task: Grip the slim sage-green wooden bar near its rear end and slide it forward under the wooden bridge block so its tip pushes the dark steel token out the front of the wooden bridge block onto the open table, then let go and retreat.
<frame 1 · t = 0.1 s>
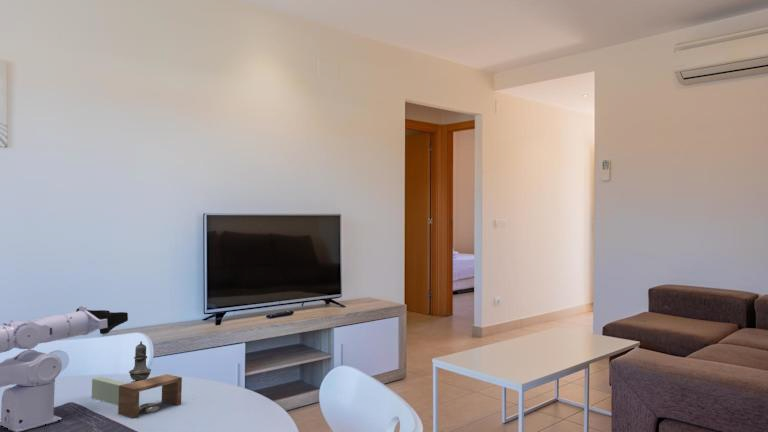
hand: (117, 315, 137), 22 cm above the table, tool horizontal, fingers open, 7 cm apart
wooden bridge block: (150, 408, 130), on the table
token: (149, 411, 129), on the table
salt shaker: (139, 384, 153), on the table
bar: (114, 402, 136), on the table
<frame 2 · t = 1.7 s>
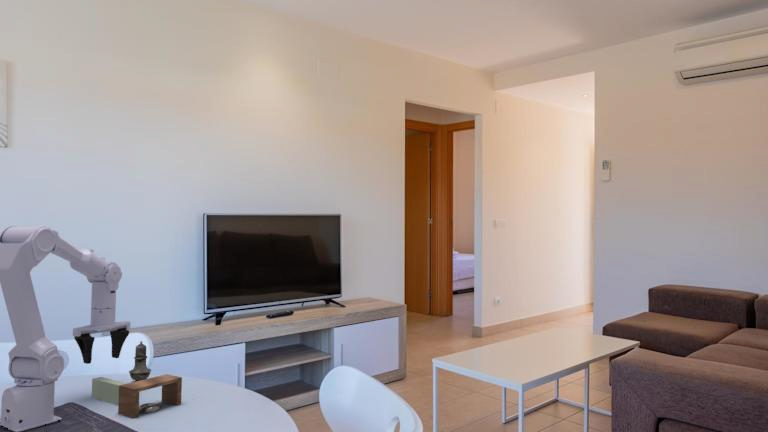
hand: (101, 360, 140), 10 cm above the table, tool pointing down, fingers open, 7 cm apart
nothing on the table moved.
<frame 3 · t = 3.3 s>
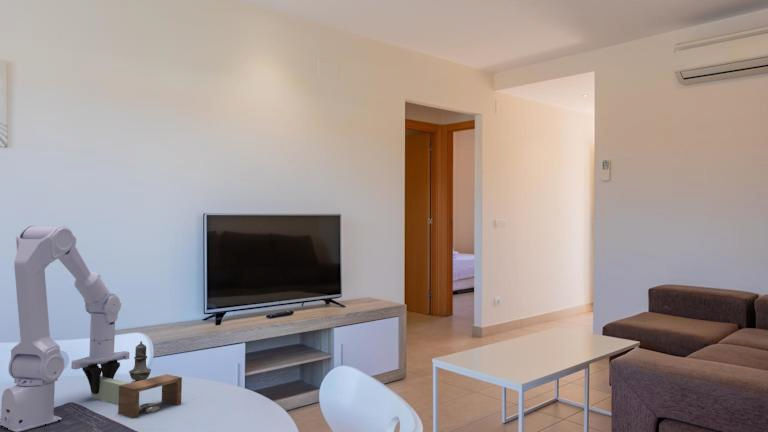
hand: (100, 391, 139), 1 cm above the table, tool pointing down, fingers closed on bar, 2 cm apart
bar: (114, 401, 136), on the table, touching gripper
everything else where it was.
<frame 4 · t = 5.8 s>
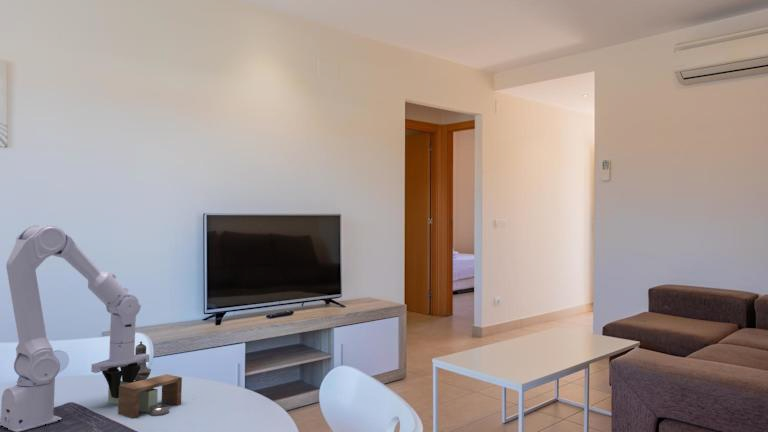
hand: (120, 395, 135), 2 cm above the table, tool pointing down, fingers closed on bar, 2 cm apart
token: (158, 413, 127), on the table, touching bar
bar: (132, 406, 132), on the table, touching gripper, token
everything else where it was.
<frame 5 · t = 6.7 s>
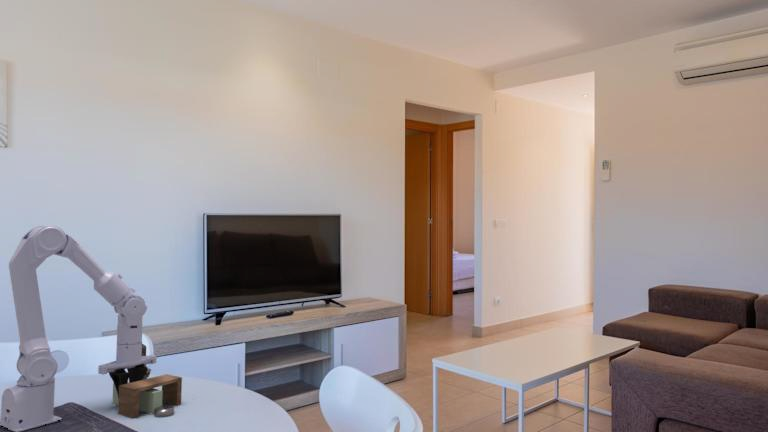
hand: (127, 397, 133), 2 cm above the table, tool pointing down, fingers closed on bar, 2 cm apart
token: (164, 415, 126), on the table
bar: (136, 407, 131), on the table, touching gripper
everything else where it was.
when the fingers open (2 cm above the table, at t = 7.8 s): bar stays where it is, on the table.
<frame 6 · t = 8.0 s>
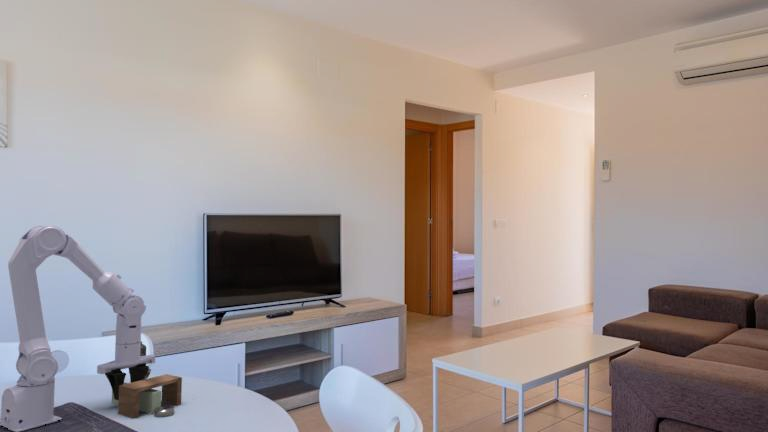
hand: (126, 397, 134), 2 cm above the table, tool pointing down, fingers open, 4 cm apart
bar: (135, 407, 132), on the table
everything else where it was.
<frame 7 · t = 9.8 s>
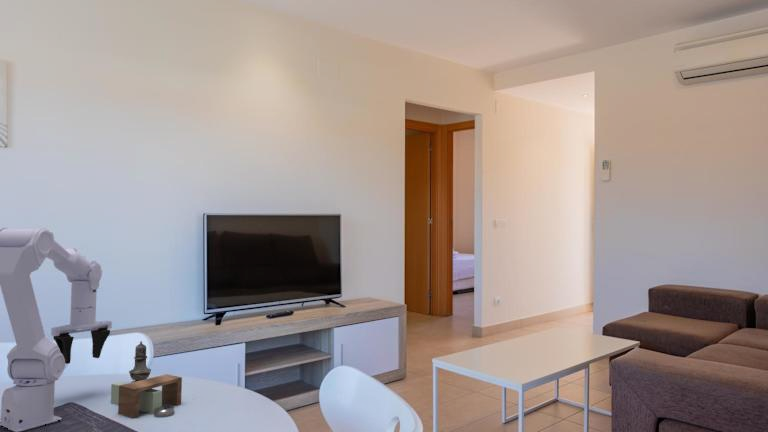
hand: (81, 360, 138), 10 cm above the table, tool pointing down, fingers open, 7 cm apart
nothing on the table moved.
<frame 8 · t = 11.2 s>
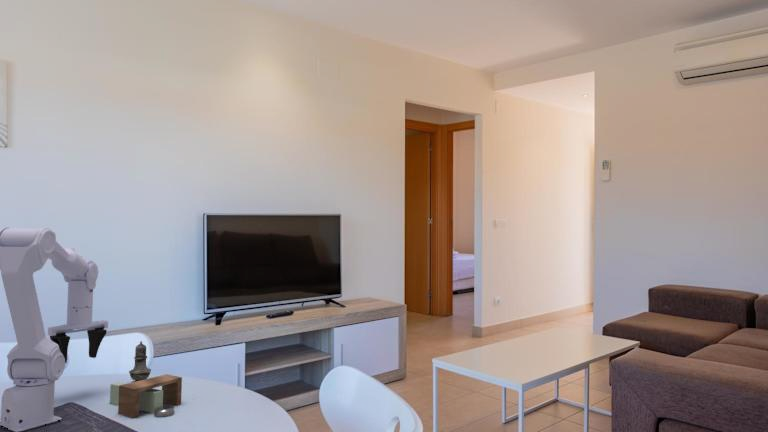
hand: (78, 360, 138), 10 cm above the table, tool pointing down, fingers open, 7 cm apart
nothing on the table moved.
at the end: token inside the target area (3.8 cm from its centre), on the table; the gripper is holding nothing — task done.
